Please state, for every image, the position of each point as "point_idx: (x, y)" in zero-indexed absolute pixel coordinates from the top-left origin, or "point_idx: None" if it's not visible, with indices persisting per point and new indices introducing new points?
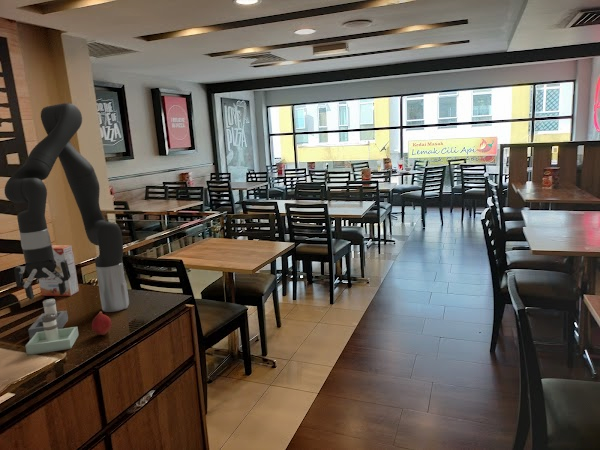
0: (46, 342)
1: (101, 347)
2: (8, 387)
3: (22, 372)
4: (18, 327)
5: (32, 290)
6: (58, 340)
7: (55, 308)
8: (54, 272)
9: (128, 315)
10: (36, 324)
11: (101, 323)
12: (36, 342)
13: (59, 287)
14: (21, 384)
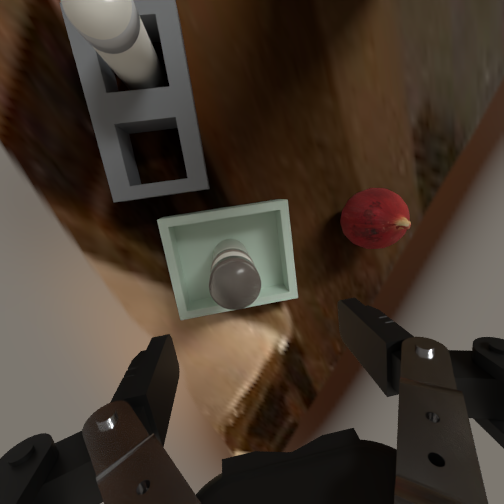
0: None
1: (365, 292)
2: (226, 436)
3: (222, 386)
4: None
5: (158, 368)
6: (267, 299)
7: (145, 37)
8: (425, 422)
9: (402, 56)
10: (117, 152)
11: (387, 246)
12: (178, 254)
13: (373, 372)
14: (247, 428)
